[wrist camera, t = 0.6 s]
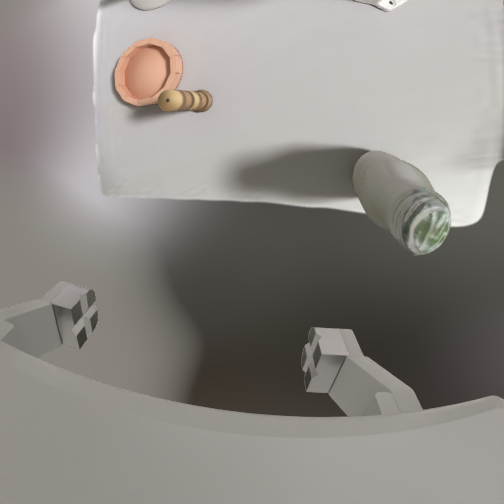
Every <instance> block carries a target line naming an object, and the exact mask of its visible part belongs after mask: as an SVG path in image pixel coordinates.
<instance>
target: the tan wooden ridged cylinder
mask: <svg viewBox="0 0 504 504" xmlns="http://www.w3.org/2000/svg"><path fill="white" fill-rule="evenodd" d="M211 105H212V96H211V94H210V93H209V92H207V91H204V90H198V91H195V92H192V91H182V90H171V89H168V90H164V91H163V92H162V93H161V94H160V95H159V97H158V106H159V107H160V109H161V110H163V111H167V112H168V111H182V110H194V111H196V112H204V111H207V110H208V109H209V108H210V107H211Z"/></svg>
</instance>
